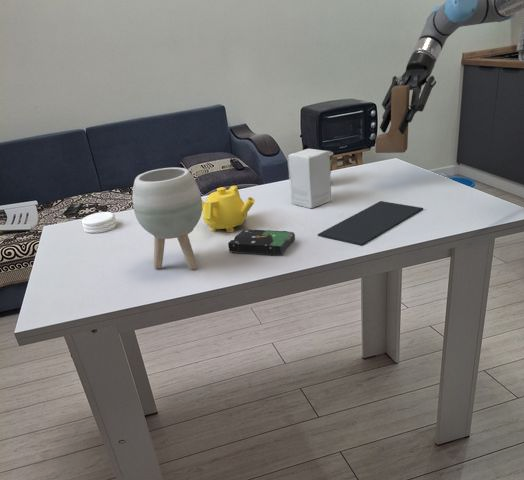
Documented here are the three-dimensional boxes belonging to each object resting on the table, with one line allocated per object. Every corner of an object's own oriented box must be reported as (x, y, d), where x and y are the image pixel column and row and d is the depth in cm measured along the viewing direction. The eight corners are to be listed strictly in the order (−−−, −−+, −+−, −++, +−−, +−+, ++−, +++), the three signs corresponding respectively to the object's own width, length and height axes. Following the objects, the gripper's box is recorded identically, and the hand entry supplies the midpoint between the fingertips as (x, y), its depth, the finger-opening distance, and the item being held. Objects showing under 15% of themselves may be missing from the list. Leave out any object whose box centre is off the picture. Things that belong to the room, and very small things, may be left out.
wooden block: (375, 153, 165) (375, 89, 155) (378, 149, 168) (379, 86, 159) (404, 152, 162) (407, 87, 152) (407, 149, 165) (410, 84, 155)
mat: (423, 209, 151) (423, 207, 151) (361, 245, 134) (361, 243, 133) (380, 202, 159) (380, 200, 159) (317, 235, 142) (317, 234, 142)
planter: (194, 246, 145) (179, 161, 133) (222, 264, 133) (208, 172, 121) (138, 264, 138) (117, 176, 126) (163, 284, 126) (142, 189, 114)
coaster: (100, 220, 172) (97, 210, 170) (123, 223, 167) (121, 212, 165) (77, 232, 165) (74, 221, 163) (101, 235, 160) (97, 223, 158)
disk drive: (228, 253, 138) (282, 256, 133) (227, 243, 137) (281, 245, 132) (244, 238, 146) (295, 240, 141) (243, 228, 145) (294, 230, 139)
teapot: (181, 235, 153) (173, 196, 147) (212, 214, 166) (206, 178, 160) (243, 240, 145) (237, 199, 139) (270, 217, 158) (267, 179, 152)
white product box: (332, 201, 165) (330, 150, 157) (311, 209, 161) (308, 157, 153) (311, 196, 171) (309, 147, 163) (291, 204, 167) (287, 154, 159)
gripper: (456, 68, 156) (424, 139, 155) (400, 69, 167) (370, 136, 167) (448, 49, 150) (415, 124, 149) (391, 52, 161) (360, 121, 161)
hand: (391, 130), depth 158 cm, fingers closed on wooden block, 5 cm apart
